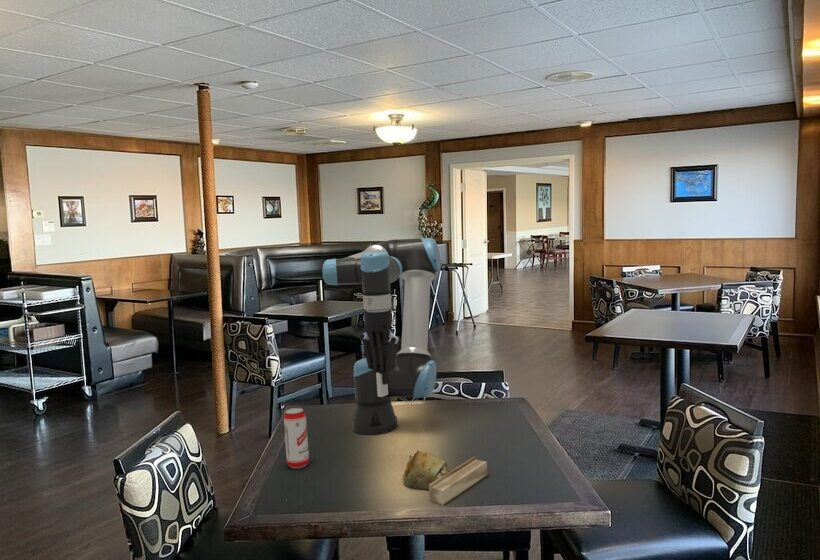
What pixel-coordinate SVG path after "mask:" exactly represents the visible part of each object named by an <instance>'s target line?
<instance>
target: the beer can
mask: <svg viewBox="0 0 820 560" xmlns="http://www.w3.org/2000/svg"><path fill="white" fill-rule="evenodd" d="M283 428H284V441H285V442H284V443H285V454H286V457H285V458H286V464H287V466H288V467H290V468H291V469H295V470H296V469H297V470H298V469H303V468H305V467H307V465H308V464H309V462H310V452H309V441H308V440H309V439H308V426H307V414H306V413H305V411H304V409H303V407H291V408H287V409H285V411H284V415H283Z"/></svg>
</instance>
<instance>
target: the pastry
mask: <svg viewBox="0 0 820 560" xmlns="http://www.w3.org/2000/svg"><path fill="white" fill-rule="evenodd" d="M408 458H409V459H408V462H407V463H406V467H405V469H404V472H403V474H402V477H401V478H402V481H403V483H404V485H405V486H407V487H410V488H412V489H417V490H418V489H419V490H421V489H422V490H427V491H429V484H431V483H432V482H434V481H436V480H437V479H439V478H440V477H442V476H444V475H445V474H447V473H448V472H450V470H449V468H448V464H447V462H446V460H443V459H442V458H440V457H437V456H434V454H433V453H431V452H430V451H429V452H428V451H422V450H417V451H416V452H415V453H414V454H413V455H409V456H408Z"/></svg>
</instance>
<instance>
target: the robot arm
mask: <svg viewBox="0 0 820 560" xmlns="http://www.w3.org/2000/svg"><path fill="white" fill-rule="evenodd" d="M438 245H439V244H438V243H437V241H436V240H435V239H434V238H431V237H430V238H429V237H428V238H427V237H421V238H403V239H402V238H401V239H389V240H384V241H381V242H378V243H375V244H371V245H370V246H367V248H366V249H364V250H363V251H362V252H358V253H356V254H352V255H349V256H347V257H346V256H345V257H343V258H331V259H326V260H324V262H323V265H322V269H321V273H322V278H323V281H324V283H325V284H327V285H328V286H329V285H331V286H344V285H345V286H347V285H362V286H361V287H362V300H363V301H362V302H363V309H364V312H363V316H364V317H363V318H364V319H363V322H364V325H365V326H366V328H365V332H363V333H360V334H359V336H358V338H359V339H360V341H361V343H362V346H363V350H364V351H363V352H364V355H365V357H364V358H361V359H359V360H357V361H356V362H355V363H354V365H353V376H352V377H353V383H354V385H353V386H354V398H355V408H354V412H353V416H352V419H351V430H352V431H353V432H354V433H357V434H359V435H365V436H366V435H367V436H368V435H372V436H373V435H374V436H375V435H382V434H386V433H389V432H392V431H394V430H396V429H397V428H398V425H399V423H398V417H397V415H396V414H395V410H394V407H393V404H392V398H414V399H418V398H427V397H429V396H431V394H433V391H434V389H435V386H436V380H437V363H436V361H435V360H433V358H432V357H433V356H432V355H431V354H430V353H429V351H428V342H429V341H428V340H429V325H430V324H429V323H430V322H429V321H430V320H429V319H430V318H429V317H430V301H431V300H430V299H431V298H430V297H431V282H432V281H433V280H435V279H436V273H439V272H440V271H441V267H442V263H441V255H440V254H441V253H440V249H439V246H438ZM399 278H402V279H403V280H404V295H403V311H402V330H401V337H400V335H398V336H396V335H395V334H394V331H393V328H392V324H393V311H392V309H391V308H392V304H393V303H392V294H391V293H392V292H391V284H392V283H395V282H396V281H397V280H398V279H399ZM400 341H401V345H400V346H401V349H400V350H398V347H399V342H400Z"/></svg>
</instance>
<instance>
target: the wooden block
mask: <svg viewBox="0 0 820 560" xmlns="http://www.w3.org/2000/svg"><path fill="white" fill-rule="evenodd" d="M486 476H488V462H487V461H484V460H480V459H476V456H473V457H471V458H469V459H468V460H466V461H465V462H463V463H461V464H460V465H458V466H456V467H455V468H453V469H452V470H449V472H448V473H447V474H445V475H444V476H442V477H440V478H439V479H437V480H436V481H434V482H432V483H431V484H429V490H428V495H429V502H432V503H435V504H439V505H442V506H444V505H446V504H447V503H448V502H449V501H450V502H451V500H453V499H454V498H455V497H457V496H459V495H460V494H461V493H463V492H465V491H466V490H467V489H469V488H470V487H472V486H473V485H475V484H476V483H477V482H479V481H481V480H482V479H483V478H485V477H486Z"/></svg>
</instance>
